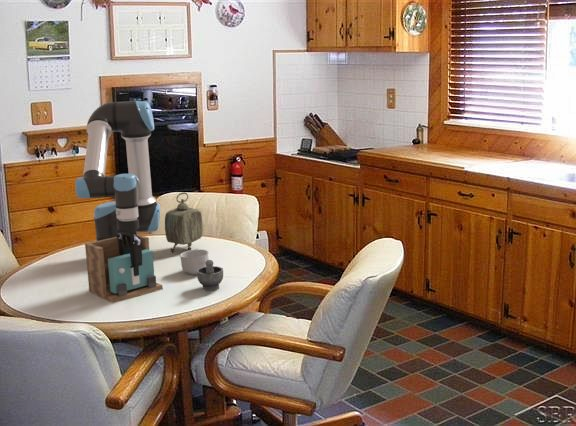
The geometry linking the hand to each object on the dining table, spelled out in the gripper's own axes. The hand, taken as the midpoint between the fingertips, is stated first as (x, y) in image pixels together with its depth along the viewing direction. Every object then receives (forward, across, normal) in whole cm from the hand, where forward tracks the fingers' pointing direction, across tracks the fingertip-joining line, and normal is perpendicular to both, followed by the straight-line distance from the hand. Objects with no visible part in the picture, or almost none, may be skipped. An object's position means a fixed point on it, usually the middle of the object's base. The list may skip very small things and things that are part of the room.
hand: (132, 282), depth 268 cm
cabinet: (+4, -6, 0) cm, 7 cm away
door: (+2, 0, 0) cm, 2 cm away
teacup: (+4, -4, +31) cm, 32 cm away
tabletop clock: (+4, -32, +46) cm, 56 cm away
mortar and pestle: (+4, +16, +22) cm, 28 cm away
